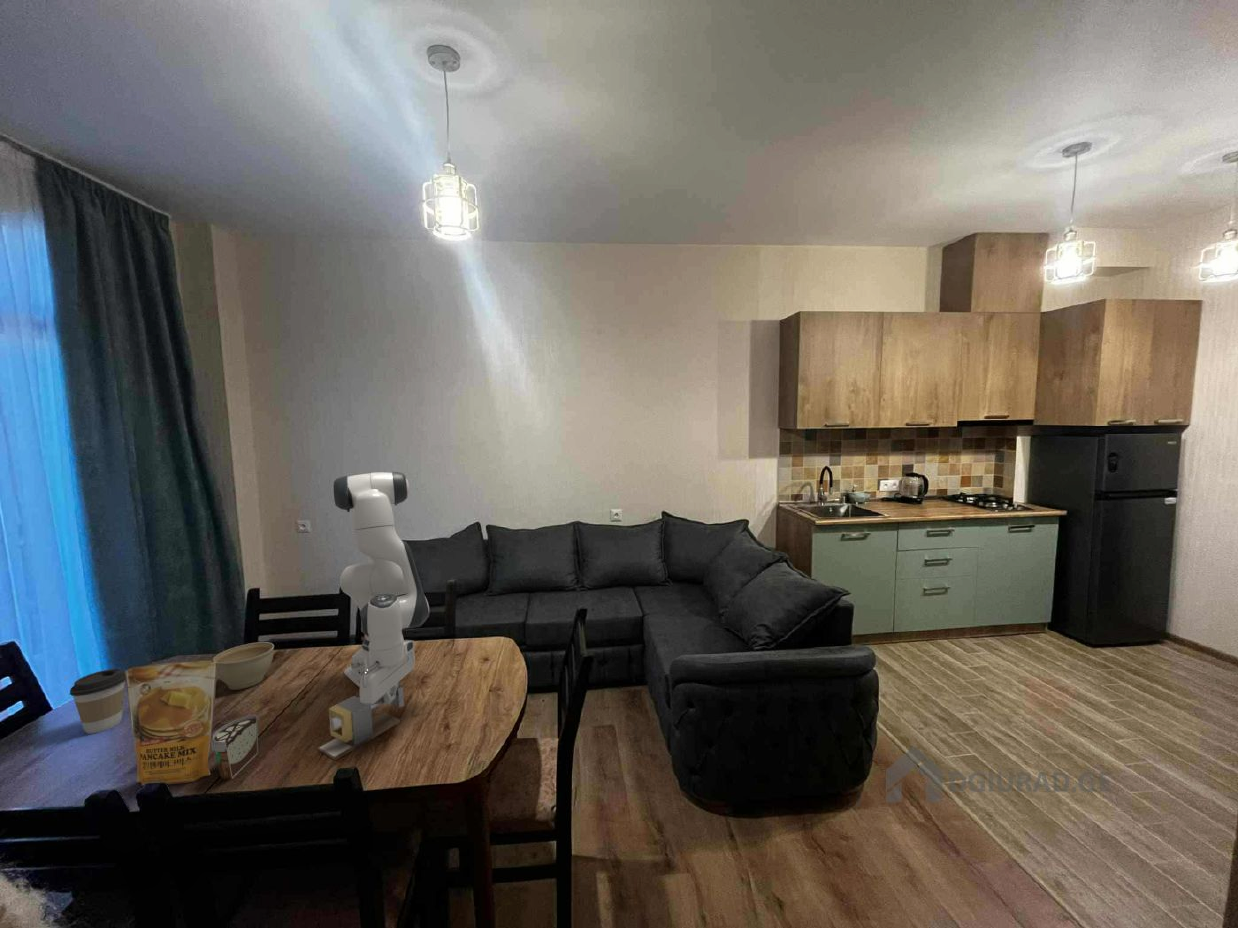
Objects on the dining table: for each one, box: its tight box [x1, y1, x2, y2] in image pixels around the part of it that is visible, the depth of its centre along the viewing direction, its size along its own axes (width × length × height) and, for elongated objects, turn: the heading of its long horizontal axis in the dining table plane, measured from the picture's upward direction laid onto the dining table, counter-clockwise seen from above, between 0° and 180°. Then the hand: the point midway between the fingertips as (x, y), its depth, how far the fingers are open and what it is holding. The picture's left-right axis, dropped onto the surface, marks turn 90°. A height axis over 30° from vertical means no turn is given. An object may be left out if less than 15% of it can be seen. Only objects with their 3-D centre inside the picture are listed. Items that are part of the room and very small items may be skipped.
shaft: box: [329, 684, 405, 730], centre depth 131 cm, size 8×18×6 cm, turn 149°
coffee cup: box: [69, 668, 126, 735], centre depth 138 cm, size 11×11×15 cm
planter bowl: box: [212, 641, 275, 690], centre depth 161 cm, size 16×16×11 cm
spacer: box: [328, 704, 353, 743], centre depth 126 cm, size 7×2×7 cm, turn 59°
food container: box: [210, 714, 260, 780], centre depth 119 cm, size 12×6×10 cm, turn 5°
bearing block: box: [335, 695, 374, 749], centre depth 129 cm, size 8×5×10 cm, turn 59°
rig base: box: [318, 711, 401, 761], centre depth 130 cm, size 8×18×1 cm, turn 149°
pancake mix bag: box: [123, 659, 218, 787], centre depth 116 cm, size 7×19×28 cm, turn 96°
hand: (390, 701), depth 134 cm, fingers closed
